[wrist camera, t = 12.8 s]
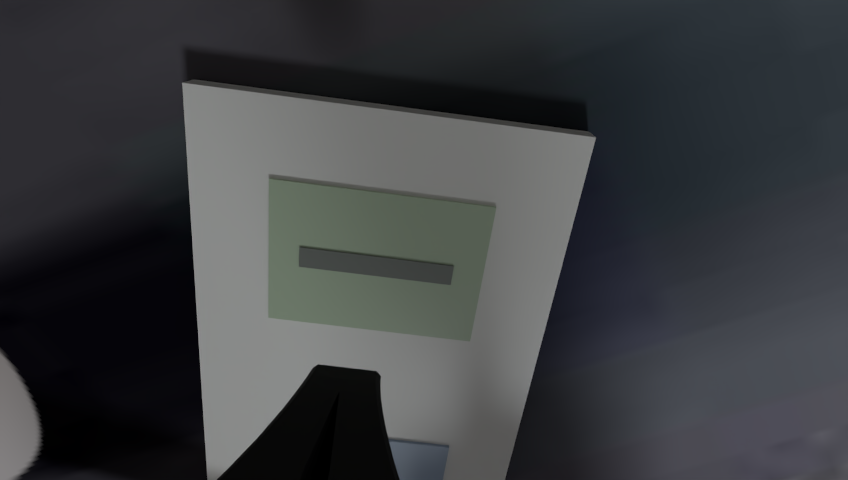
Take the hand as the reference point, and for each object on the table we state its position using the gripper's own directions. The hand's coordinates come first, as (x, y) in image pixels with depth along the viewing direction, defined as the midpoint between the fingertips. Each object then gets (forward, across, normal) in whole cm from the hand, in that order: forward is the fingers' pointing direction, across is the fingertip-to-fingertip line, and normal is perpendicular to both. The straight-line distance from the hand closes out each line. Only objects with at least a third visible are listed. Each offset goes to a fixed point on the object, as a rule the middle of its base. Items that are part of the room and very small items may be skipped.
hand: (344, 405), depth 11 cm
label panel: (+7, 0, +7) cm, 10 cm away
